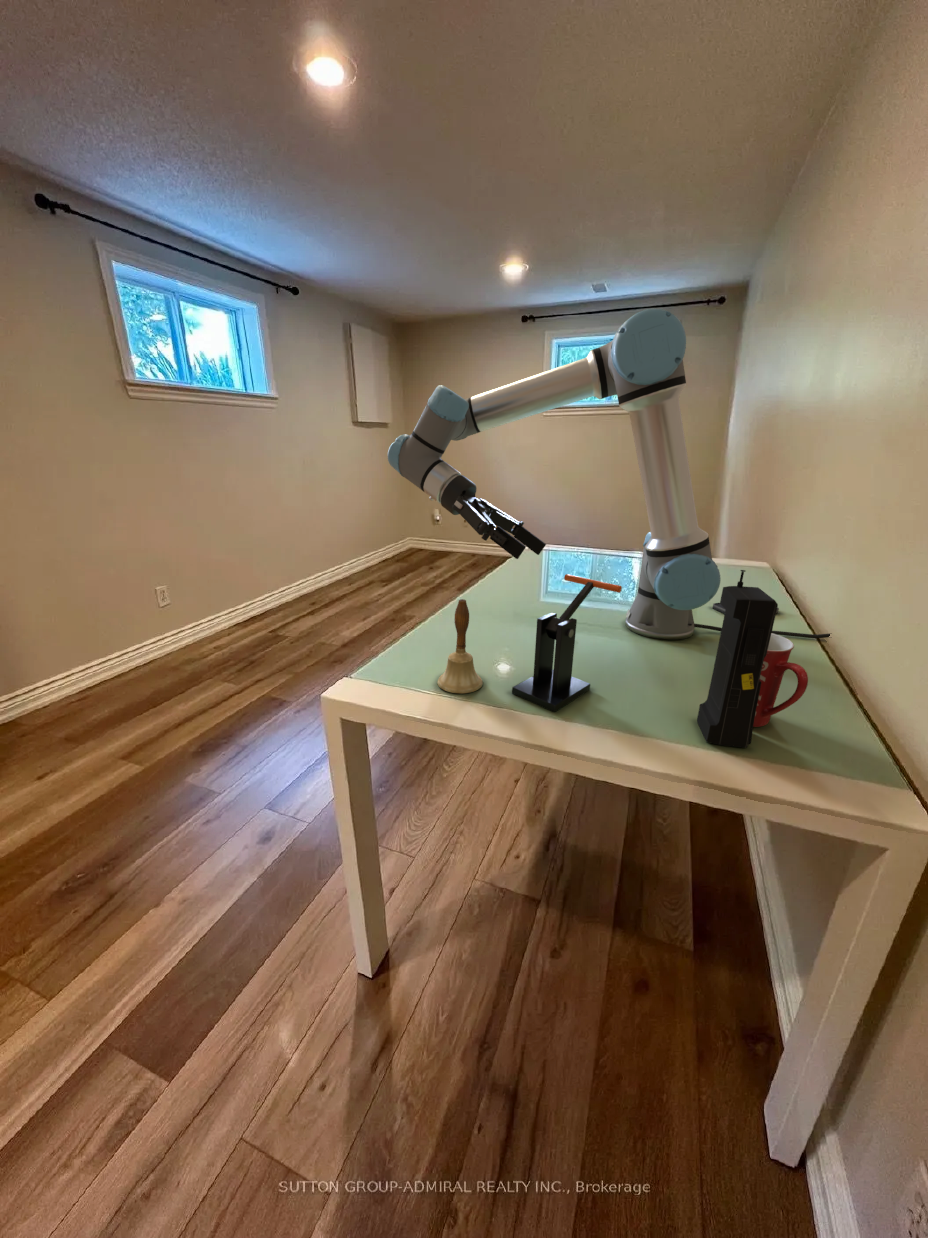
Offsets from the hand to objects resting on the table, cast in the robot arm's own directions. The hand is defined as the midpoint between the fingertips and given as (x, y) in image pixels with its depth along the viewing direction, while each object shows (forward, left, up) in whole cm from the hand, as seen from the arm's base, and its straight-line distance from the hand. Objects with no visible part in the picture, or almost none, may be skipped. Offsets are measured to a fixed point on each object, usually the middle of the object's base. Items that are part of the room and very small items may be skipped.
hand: (532, 551), depth 95 cm
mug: (-31, +28, -22) cm, 47 cm away
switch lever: (-5, +13, -8) cm, 16 cm away
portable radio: (-24, +32, -22) cm, 45 cm away
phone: (-63, -25, -22) cm, 72 cm away
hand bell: (+15, +13, -22) cm, 29 cm away
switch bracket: (-1, +17, -22) cm, 27 cm away
